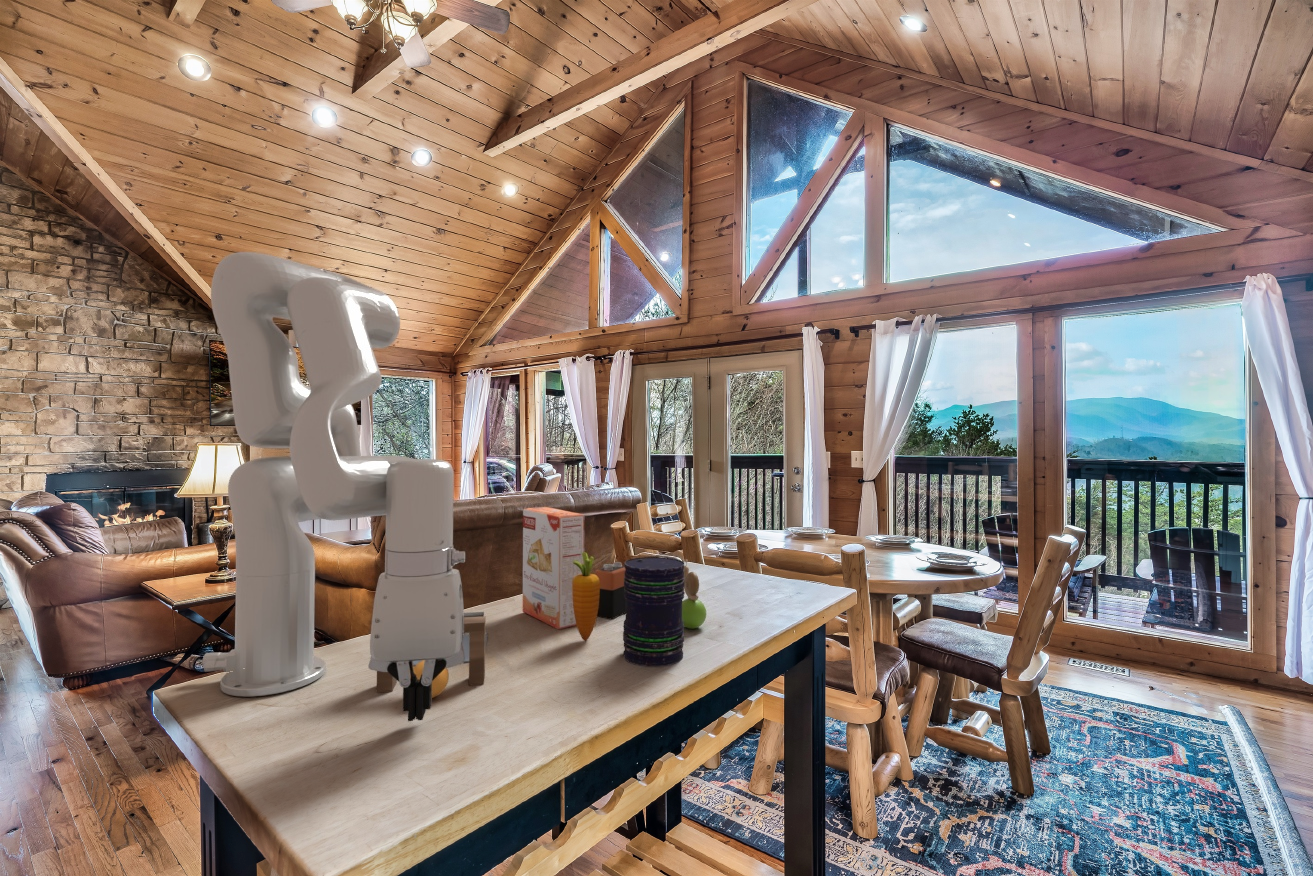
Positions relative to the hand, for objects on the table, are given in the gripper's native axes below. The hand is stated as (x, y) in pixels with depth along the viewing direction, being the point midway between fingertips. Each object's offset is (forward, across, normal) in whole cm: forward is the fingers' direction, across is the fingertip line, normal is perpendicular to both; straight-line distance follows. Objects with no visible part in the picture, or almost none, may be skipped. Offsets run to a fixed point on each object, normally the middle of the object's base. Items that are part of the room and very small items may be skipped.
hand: (417, 715), depth 72 cm
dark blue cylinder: (+2, -33, -18) cm, 38 cm away
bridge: (+2, 0, -13) cm, 13 cm away
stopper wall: (+2, 0, -38) cm, 38 cm away
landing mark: (+2, 0, -27) cm, 27 cm away
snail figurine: (+2, -43, -31) cm, 53 cm away
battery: (+2, -30, -42) cm, 52 cm away
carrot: (+2, -23, -27) cm, 36 cm away
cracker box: (+2, -18, -41) cm, 45 cm away
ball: (-1, 0, -8) cm, 9 cm away
